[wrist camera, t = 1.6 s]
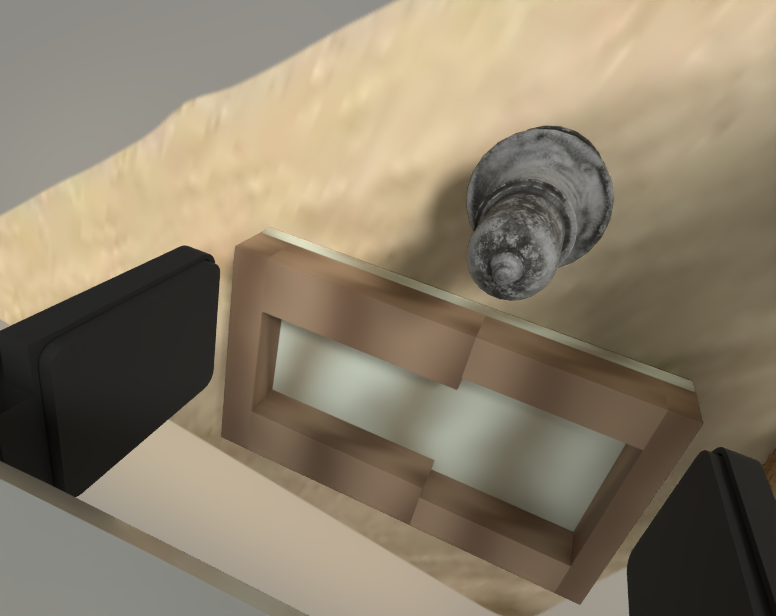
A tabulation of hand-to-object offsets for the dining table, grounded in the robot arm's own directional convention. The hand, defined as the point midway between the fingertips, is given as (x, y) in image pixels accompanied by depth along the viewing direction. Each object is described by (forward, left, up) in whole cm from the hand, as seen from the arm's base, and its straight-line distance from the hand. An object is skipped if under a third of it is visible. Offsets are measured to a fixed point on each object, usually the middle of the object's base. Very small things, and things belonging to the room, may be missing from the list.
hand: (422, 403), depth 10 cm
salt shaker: (0, 0, -18) cm, 18 cm away
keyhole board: (+2, +14, -18) cm, 23 cm away
